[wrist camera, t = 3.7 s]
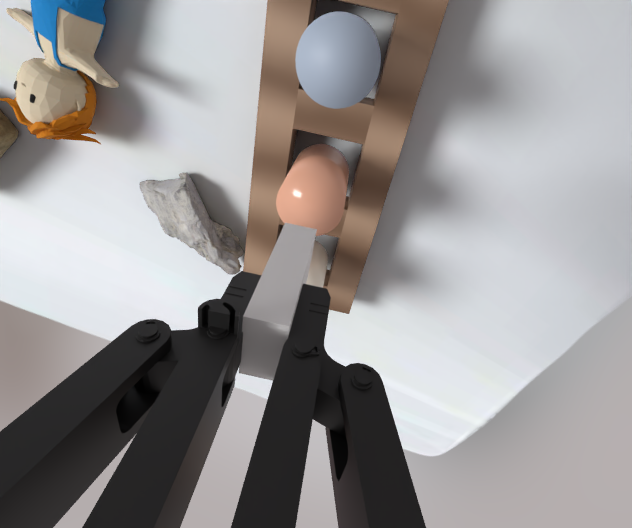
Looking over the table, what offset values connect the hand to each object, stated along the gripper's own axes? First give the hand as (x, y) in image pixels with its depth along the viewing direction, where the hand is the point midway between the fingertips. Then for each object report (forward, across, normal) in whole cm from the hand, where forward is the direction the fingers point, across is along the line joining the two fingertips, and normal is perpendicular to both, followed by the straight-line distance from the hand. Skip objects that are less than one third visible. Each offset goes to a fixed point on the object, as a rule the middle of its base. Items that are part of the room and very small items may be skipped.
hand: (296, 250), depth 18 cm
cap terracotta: (+16, 0, -2) cm, 16 cm away
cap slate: (+16, 0, +7) cm, 17 cm away
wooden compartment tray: (+19, 0, -2) cm, 19 cm away
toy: (+19, -23, +4) cm, 30 cm away
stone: (+19, -13, -10) cm, 26 cm away
